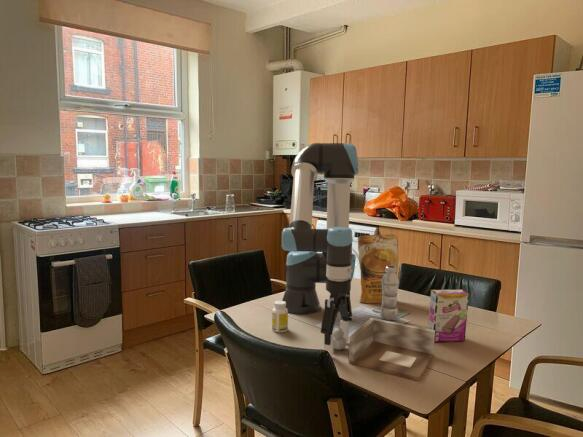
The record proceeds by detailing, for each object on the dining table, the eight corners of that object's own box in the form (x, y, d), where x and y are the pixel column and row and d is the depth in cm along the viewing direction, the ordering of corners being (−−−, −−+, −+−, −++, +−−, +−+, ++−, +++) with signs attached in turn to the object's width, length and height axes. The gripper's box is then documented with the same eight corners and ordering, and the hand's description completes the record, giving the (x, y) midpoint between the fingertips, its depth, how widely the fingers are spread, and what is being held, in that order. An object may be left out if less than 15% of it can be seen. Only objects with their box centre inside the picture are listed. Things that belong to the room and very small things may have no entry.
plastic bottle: (387, 323, 157) (390, 269, 155) (375, 317, 163) (378, 265, 160) (401, 321, 160) (404, 267, 157) (389, 315, 166) (391, 263, 163)
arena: (348, 363, 126) (349, 336, 125) (370, 341, 141) (371, 317, 140) (418, 381, 116) (420, 352, 115) (433, 355, 131) (434, 330, 130)
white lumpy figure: (350, 350, 134) (351, 325, 133) (331, 354, 131) (332, 328, 130) (340, 344, 139) (341, 319, 138) (322, 347, 136) (323, 322, 135)
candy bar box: (433, 343, 141) (436, 294, 139) (426, 337, 146) (429, 289, 144) (466, 342, 142) (469, 293, 140) (458, 335, 147) (461, 288, 145)
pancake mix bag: (352, 299, 184) (354, 234, 181) (394, 297, 189) (397, 233, 185) (358, 304, 178) (361, 237, 174) (401, 302, 182) (404, 236, 179)
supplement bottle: (289, 328, 152) (290, 300, 150) (284, 333, 147) (284, 305, 145) (275, 326, 153) (275, 299, 152) (269, 331, 148) (269, 303, 147)
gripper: (333, 289, 120) (331, 364, 123) (363, 271, 141) (361, 336, 143) (309, 285, 124) (308, 358, 127) (342, 268, 144) (340, 332, 147)
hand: (336, 347), depth 135 cm, fingers open, 11 cm apart
